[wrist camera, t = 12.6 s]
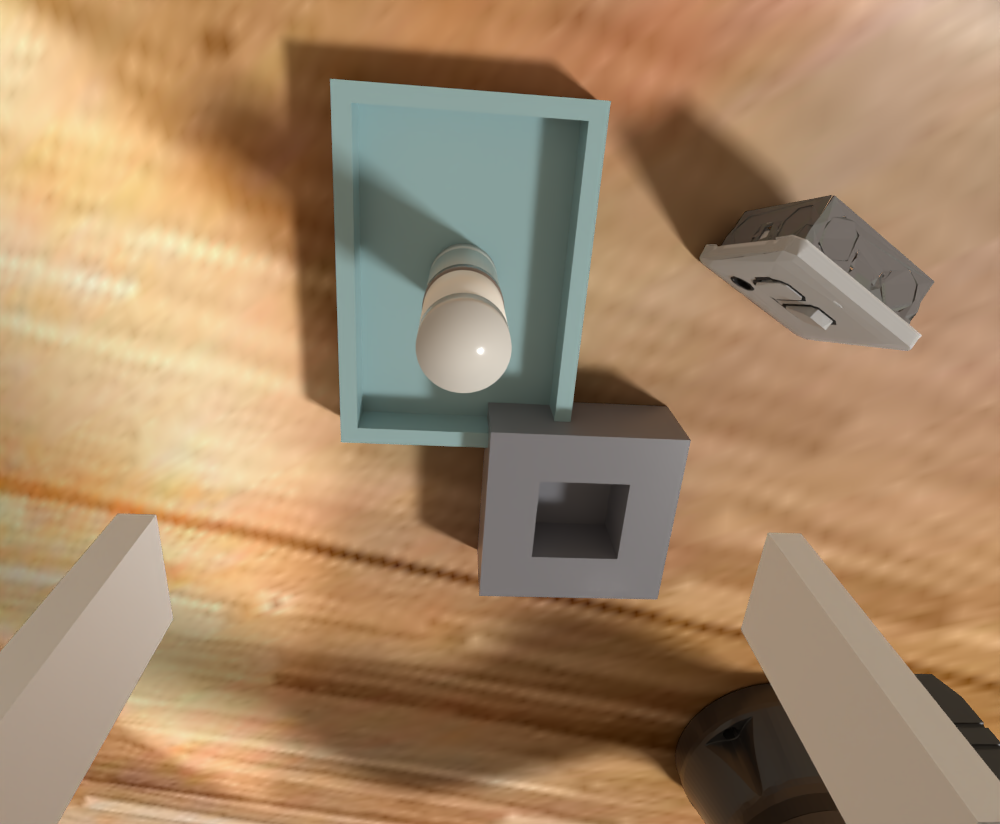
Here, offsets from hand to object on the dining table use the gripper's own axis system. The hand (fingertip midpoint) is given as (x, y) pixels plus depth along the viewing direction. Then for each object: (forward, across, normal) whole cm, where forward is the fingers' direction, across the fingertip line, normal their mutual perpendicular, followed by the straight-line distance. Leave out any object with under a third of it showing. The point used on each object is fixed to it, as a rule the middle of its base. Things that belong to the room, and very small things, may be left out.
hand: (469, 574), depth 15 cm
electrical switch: (+28, -19, -2) cm, 34 cm away
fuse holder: (+28, -8, +14) cm, 32 cm away
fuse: (+28, 0, 0) cm, 28 cm away
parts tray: (+28, 0, 0) cm, 28 cm away
